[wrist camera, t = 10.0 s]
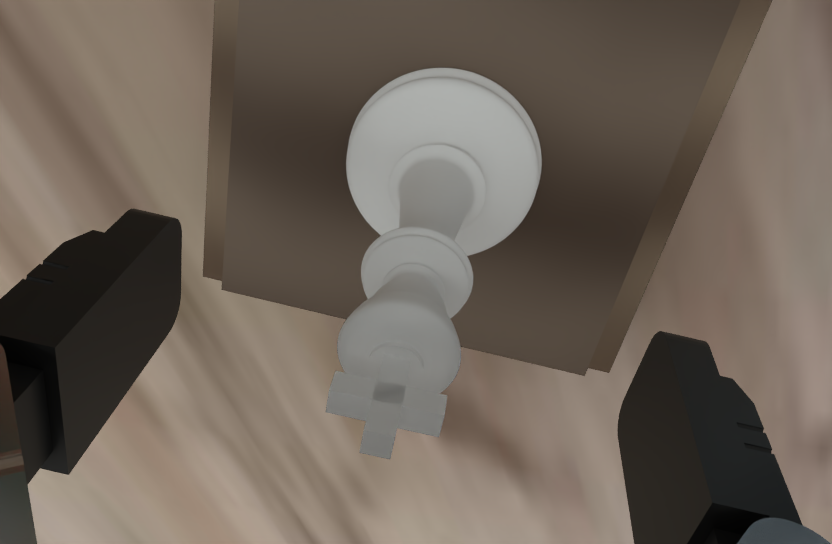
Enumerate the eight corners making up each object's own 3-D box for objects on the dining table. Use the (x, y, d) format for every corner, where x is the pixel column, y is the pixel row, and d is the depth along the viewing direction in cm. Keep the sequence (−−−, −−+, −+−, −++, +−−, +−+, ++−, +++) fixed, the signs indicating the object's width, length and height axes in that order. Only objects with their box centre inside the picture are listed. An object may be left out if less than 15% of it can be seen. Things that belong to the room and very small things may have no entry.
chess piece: (514, 265, 20) (509, 592, 11) (337, 227, 20) (198, 522, 11) (565, 91, 17) (610, 342, 9) (362, 47, 17) (205, 254, 9)
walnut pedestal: (263, -210, 19) (180, -226, 15) (771, -93, 19) (849, -72, 15) (233, 234, 27) (171, 318, 22) (601, 321, 27) (617, 424, 22)
